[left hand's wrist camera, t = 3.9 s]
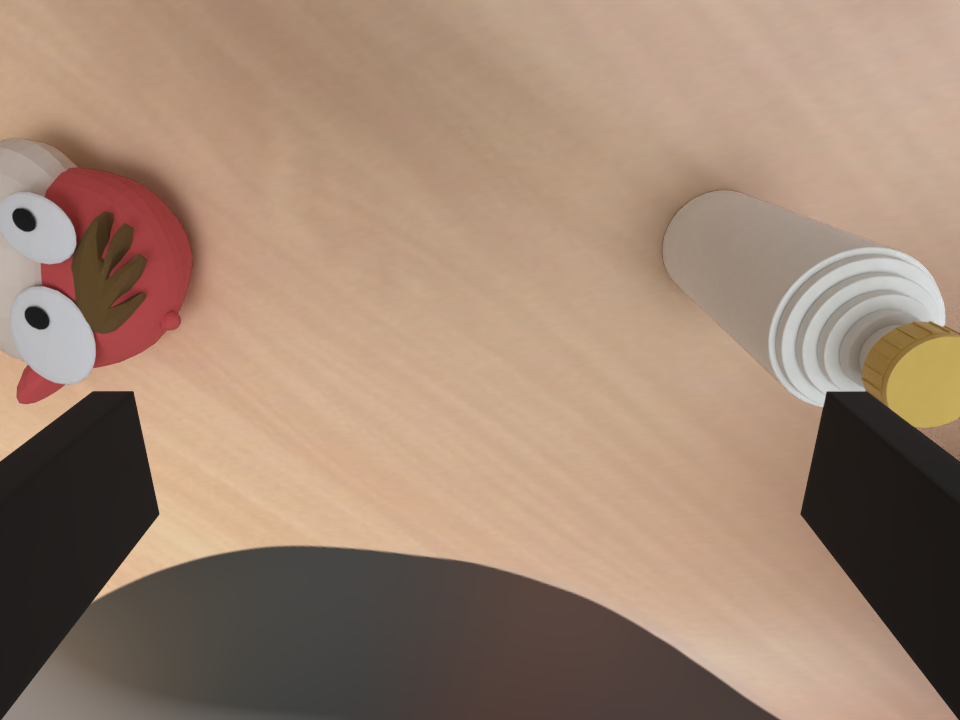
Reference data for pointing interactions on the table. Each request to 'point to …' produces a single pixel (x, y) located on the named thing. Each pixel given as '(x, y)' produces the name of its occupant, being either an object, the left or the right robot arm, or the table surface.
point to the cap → (916, 373)
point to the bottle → (795, 288)
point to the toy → (82, 267)
